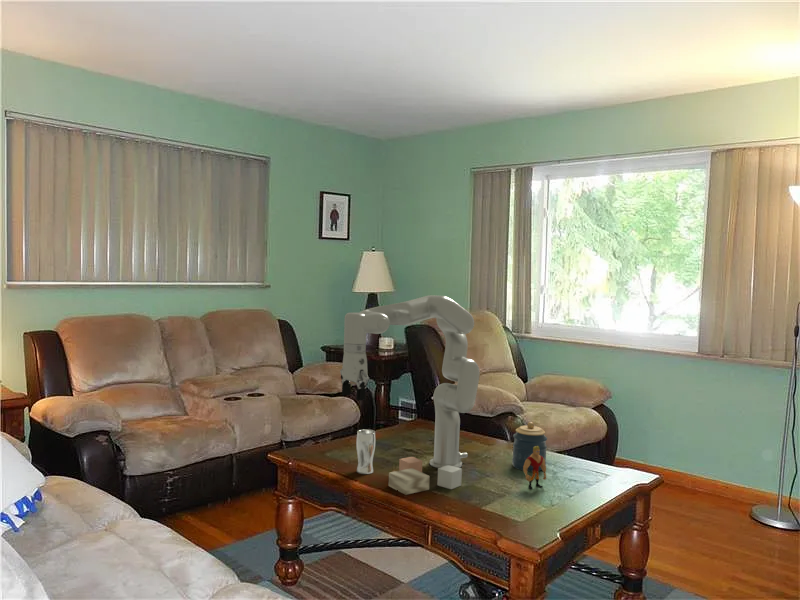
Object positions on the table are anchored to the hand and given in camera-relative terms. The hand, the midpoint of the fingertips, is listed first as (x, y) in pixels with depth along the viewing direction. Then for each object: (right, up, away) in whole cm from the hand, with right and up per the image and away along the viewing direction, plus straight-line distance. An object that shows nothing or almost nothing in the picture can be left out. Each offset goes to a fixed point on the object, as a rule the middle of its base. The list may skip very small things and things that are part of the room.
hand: (353, 397), depth 221 cm
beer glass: (+3, -30, +15) cm, 33 cm away
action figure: (+64, -32, +4) cm, 72 cm away
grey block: (+33, -31, +3) cm, 46 cm away
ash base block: (+19, -31, -1) cm, 37 cm away
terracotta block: (+20, -31, +12) cm, 38 cm away
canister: (+66, -31, +28) cm, 78 cm away
